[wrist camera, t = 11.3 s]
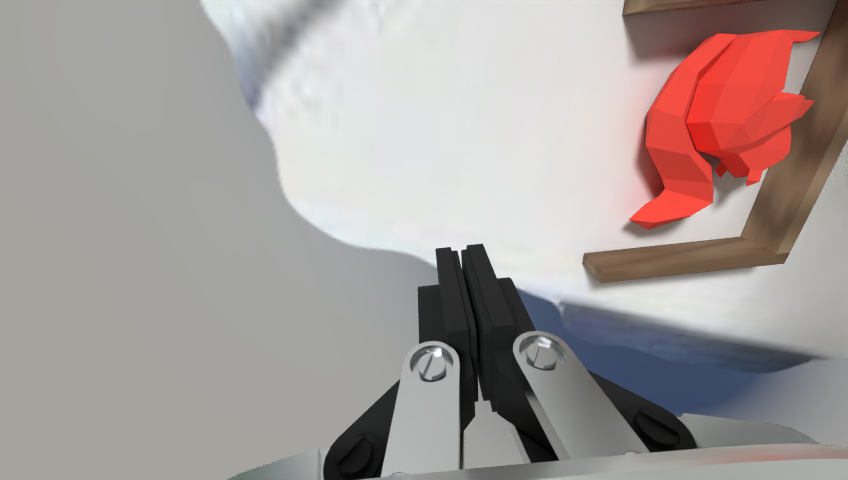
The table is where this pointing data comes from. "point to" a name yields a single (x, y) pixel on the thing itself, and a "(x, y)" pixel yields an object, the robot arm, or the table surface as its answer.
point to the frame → (784, 183)
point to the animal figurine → (720, 119)
